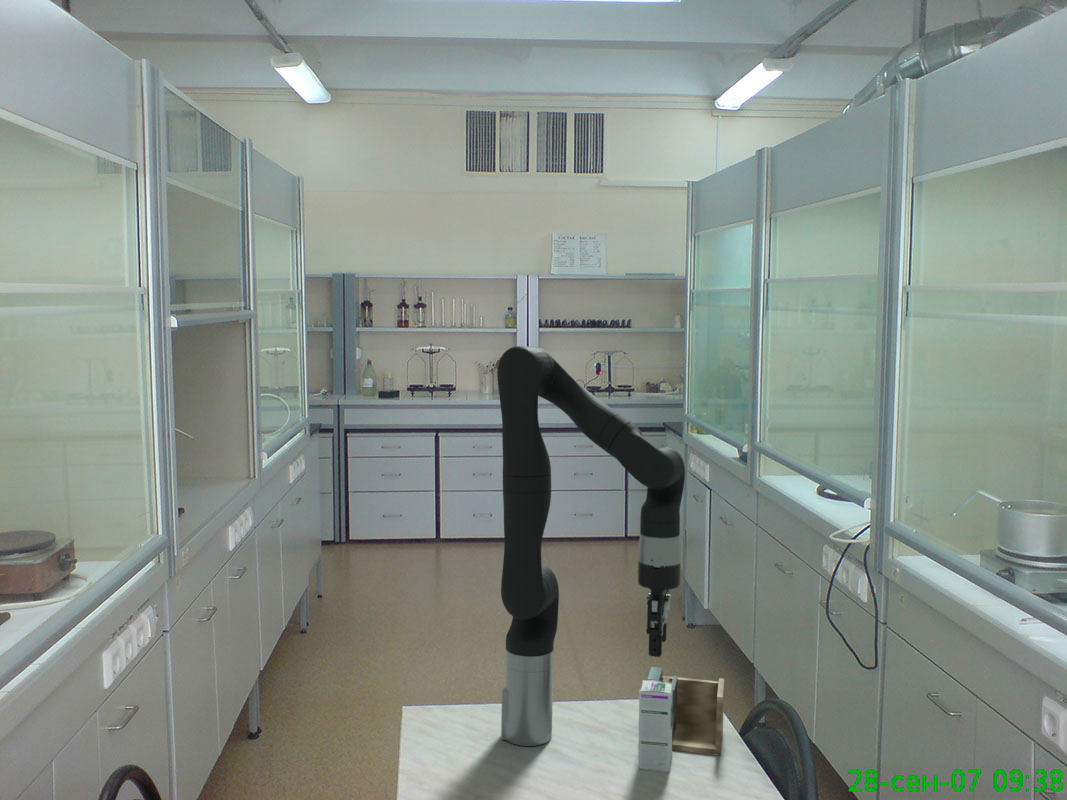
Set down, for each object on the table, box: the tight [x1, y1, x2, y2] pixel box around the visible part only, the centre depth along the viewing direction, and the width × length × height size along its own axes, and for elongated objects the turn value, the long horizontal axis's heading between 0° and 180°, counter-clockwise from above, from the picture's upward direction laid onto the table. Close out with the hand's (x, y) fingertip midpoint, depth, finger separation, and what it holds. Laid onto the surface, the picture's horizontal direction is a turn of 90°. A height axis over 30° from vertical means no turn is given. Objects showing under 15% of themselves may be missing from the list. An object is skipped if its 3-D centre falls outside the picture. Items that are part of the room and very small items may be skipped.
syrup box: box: [638, 679, 673, 773], centre depth 164 cm, size 6×6×14 cm
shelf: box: [646, 666, 725, 756], centre depth 176 cm, size 14×11×12 cm
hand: (657, 648), depth 164 cm, fingers open, 8 cm apart
